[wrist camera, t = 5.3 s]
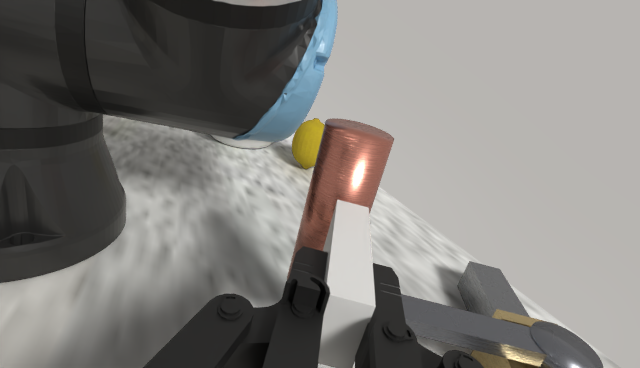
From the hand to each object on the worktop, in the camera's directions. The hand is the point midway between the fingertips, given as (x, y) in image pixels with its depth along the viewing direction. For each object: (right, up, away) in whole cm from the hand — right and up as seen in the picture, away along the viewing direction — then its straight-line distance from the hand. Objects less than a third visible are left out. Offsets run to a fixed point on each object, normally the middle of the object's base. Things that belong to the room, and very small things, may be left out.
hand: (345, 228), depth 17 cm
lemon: (-4, +4, +38) cm, 38 cm away
